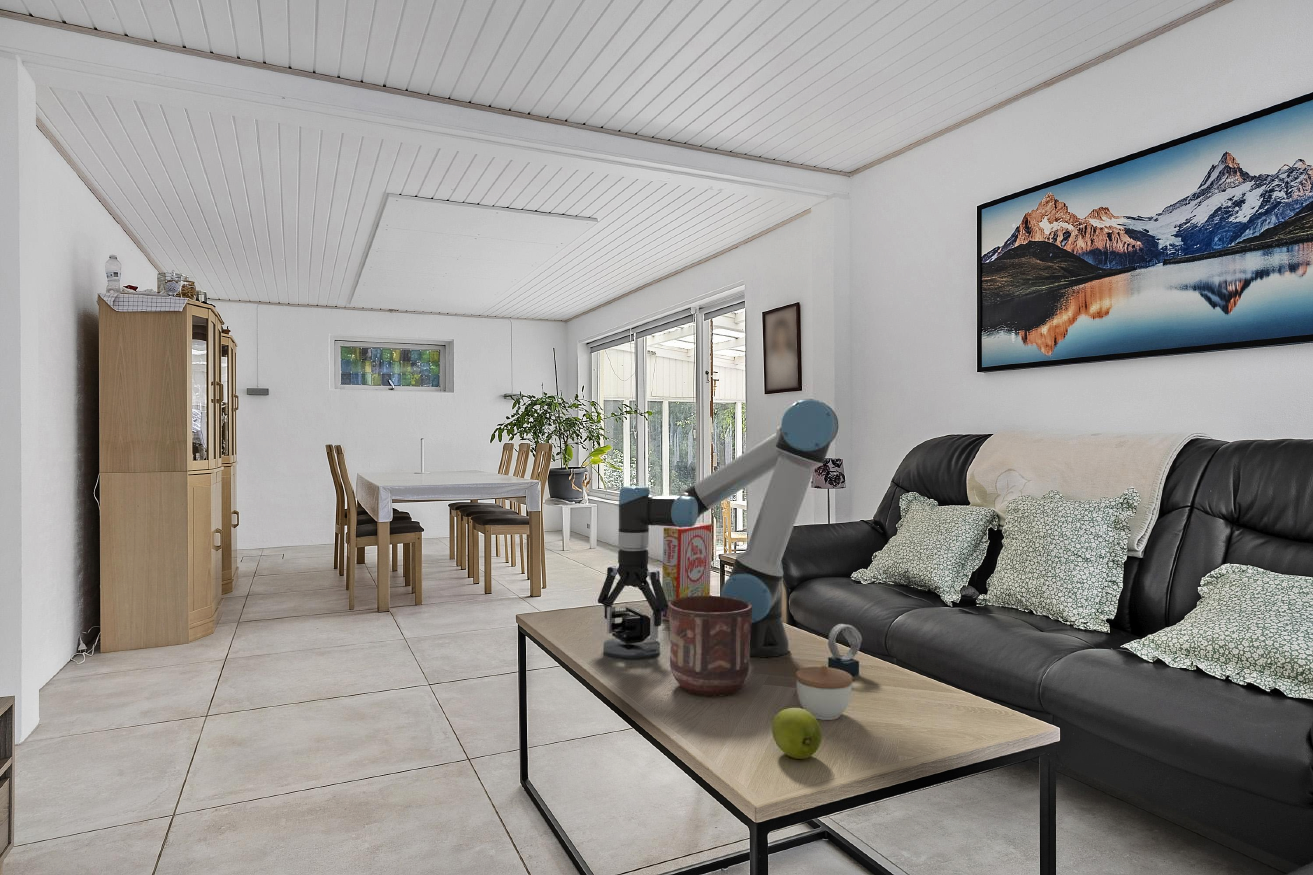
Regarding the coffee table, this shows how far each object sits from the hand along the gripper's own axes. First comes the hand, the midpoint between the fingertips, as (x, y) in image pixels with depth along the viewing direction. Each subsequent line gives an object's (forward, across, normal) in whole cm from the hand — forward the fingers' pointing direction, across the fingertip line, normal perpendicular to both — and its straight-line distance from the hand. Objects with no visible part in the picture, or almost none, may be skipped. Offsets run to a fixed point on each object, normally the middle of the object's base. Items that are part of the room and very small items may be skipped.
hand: (632, 635), depth 192 cm
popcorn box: (+4, +7, -44) cm, 45 cm away
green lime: (+4, -56, +40) cm, 69 cm away
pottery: (+4, -28, +15) cm, 32 cm away
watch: (+4, -50, -11) cm, 51 cm away
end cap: (+1, 0, 0) cm, 1 cm away
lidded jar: (+4, -54, +18) cm, 57 cm away
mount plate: (+4, 0, 0) cm, 4 cm away
